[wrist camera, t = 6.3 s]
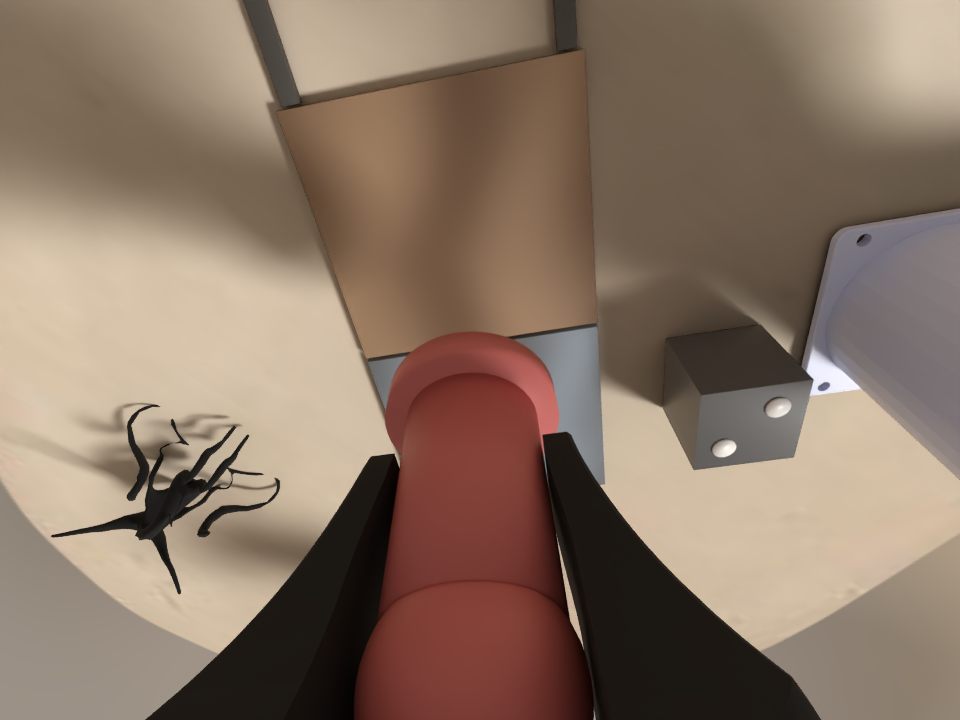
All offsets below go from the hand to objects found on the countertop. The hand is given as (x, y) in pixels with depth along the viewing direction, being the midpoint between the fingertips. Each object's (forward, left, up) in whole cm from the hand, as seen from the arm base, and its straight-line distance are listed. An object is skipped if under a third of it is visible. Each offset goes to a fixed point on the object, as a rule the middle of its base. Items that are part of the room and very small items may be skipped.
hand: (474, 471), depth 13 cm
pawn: (0, 0, -2) cm, 2 cm away
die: (-10, +5, -9) cm, 15 cm away
